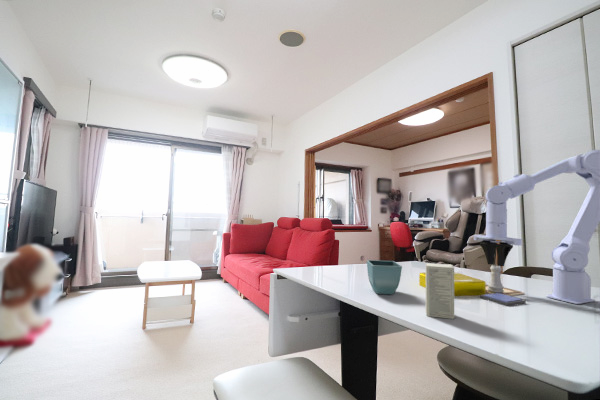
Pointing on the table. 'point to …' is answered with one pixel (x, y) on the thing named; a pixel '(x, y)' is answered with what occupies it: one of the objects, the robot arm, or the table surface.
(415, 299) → the table surface
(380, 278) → the flower pot
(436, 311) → the skincare box
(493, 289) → the rook chess piece
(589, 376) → the table surface
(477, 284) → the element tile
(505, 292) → the mat
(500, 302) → the ink pad
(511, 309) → the table surface
